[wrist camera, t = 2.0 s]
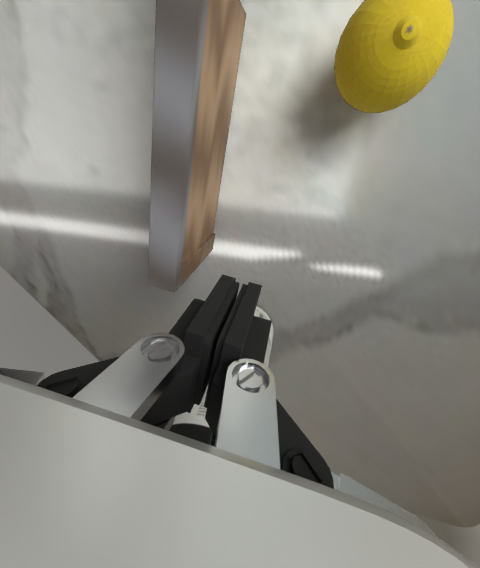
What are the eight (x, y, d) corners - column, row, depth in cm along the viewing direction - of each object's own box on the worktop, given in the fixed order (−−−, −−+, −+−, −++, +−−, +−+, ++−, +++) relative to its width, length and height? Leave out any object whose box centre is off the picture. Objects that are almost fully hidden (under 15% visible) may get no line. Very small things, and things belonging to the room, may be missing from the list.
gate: (226, -44, 17) (156, -206, 9) (257, -39, 17) (212, -200, 9) (193, 243, 27) (145, 288, 19) (212, 249, 27) (171, 296, 19)
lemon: (393, -9, 17) (454, -113, 10) (432, 76, 18) (509, 37, 11) (314, 64, 19) (319, 22, 12) (353, 135, 21) (377, 132, 14)
